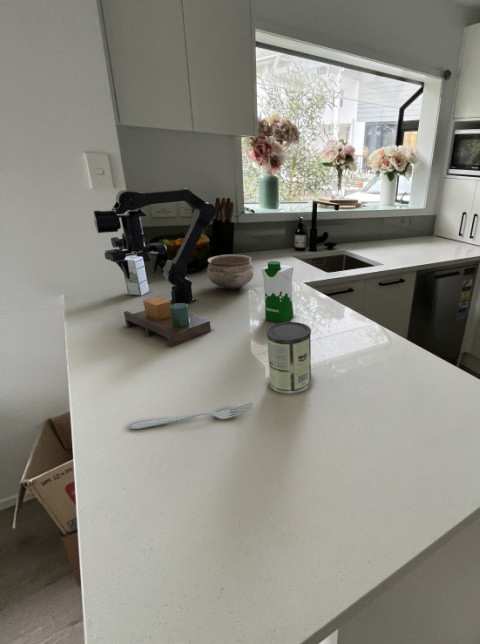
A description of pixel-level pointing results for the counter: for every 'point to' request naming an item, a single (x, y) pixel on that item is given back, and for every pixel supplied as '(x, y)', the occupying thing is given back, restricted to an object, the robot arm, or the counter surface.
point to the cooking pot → (230, 271)
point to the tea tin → (180, 315)
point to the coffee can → (289, 357)
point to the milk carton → (278, 292)
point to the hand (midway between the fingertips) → (141, 276)
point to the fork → (221, 415)
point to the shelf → (169, 326)
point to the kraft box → (157, 308)
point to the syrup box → (136, 276)
